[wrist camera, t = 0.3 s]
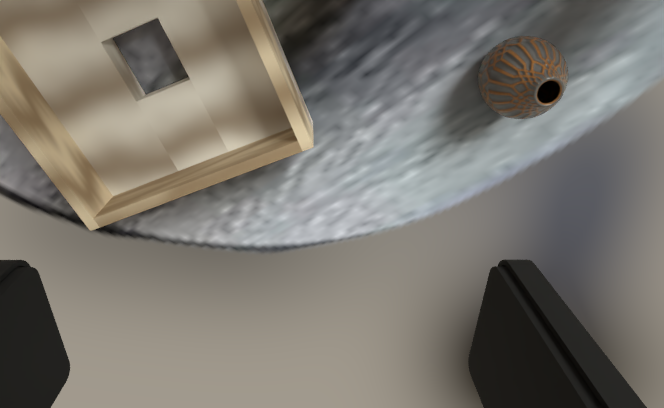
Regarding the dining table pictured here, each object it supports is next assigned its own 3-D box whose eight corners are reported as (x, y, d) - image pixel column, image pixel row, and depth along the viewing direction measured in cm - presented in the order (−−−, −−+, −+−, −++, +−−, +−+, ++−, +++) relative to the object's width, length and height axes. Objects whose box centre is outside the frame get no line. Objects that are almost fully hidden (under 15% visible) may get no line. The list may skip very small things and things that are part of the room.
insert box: (-33, -23, 36) (-104, -22, 30) (205, -139, 33) (181, -164, 27) (119, 196, 46) (90, 231, 40) (312, 122, 43) (313, 147, 37)
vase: (556, 62, 41) (612, 82, 34) (502, 119, 44) (544, 150, 36) (507, 15, 39) (555, 25, 32) (454, 78, 42) (486, 102, 34)
